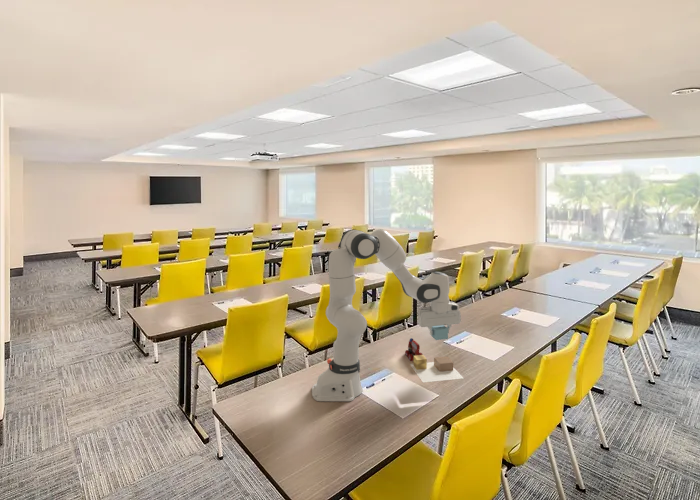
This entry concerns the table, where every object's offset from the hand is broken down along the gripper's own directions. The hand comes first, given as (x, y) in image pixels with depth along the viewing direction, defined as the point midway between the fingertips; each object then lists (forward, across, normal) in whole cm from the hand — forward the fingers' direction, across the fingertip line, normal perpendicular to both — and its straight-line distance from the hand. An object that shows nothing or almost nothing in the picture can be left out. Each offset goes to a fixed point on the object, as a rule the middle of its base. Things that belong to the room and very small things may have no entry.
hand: (439, 333), depth 183 cm
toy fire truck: (+20, -7, +18) cm, 28 cm away
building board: (+20, -2, +1) cm, 20 cm away
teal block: (+2, 0, 0) cm, 2 cm away
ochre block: (+19, -8, +6) cm, 21 cm away
